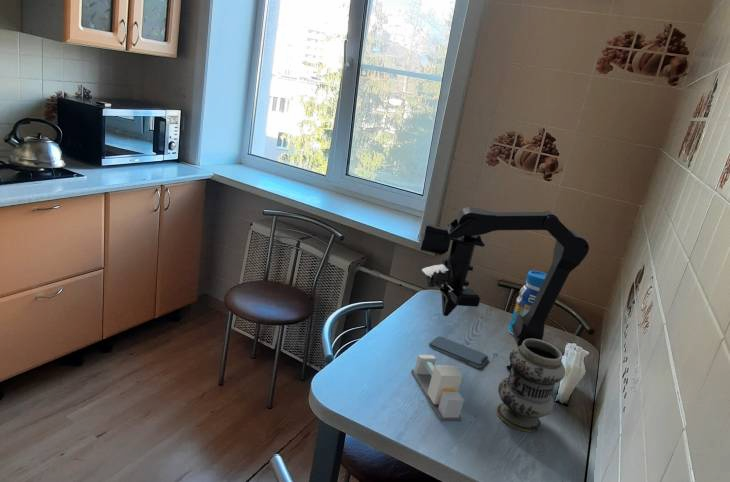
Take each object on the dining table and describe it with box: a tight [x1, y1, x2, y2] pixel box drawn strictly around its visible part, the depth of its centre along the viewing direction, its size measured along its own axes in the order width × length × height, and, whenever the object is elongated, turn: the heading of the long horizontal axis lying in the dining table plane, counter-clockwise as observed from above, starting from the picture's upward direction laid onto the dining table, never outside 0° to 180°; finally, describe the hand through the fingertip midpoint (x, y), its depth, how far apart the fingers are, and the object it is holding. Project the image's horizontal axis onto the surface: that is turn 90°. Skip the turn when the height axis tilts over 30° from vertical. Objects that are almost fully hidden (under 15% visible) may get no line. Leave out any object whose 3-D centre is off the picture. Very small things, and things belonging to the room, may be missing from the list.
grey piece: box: [410, 354, 464, 422], centre depth 118 cm, size 5×18×5 cm, turn 15°
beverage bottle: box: [507, 270, 547, 336], centre depth 157 cm, size 8×8×20 cm
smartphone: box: [428, 335, 489, 369], centre depth 141 cm, size 8×2×15 cm
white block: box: [427, 364, 463, 404], centre depth 115 cm, size 5×4×7 cm
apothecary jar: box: [496, 339, 566, 433], centre depth 114 cm, size 12×12×18 cm
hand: (445, 315), depth 133 cm, fingers closed
